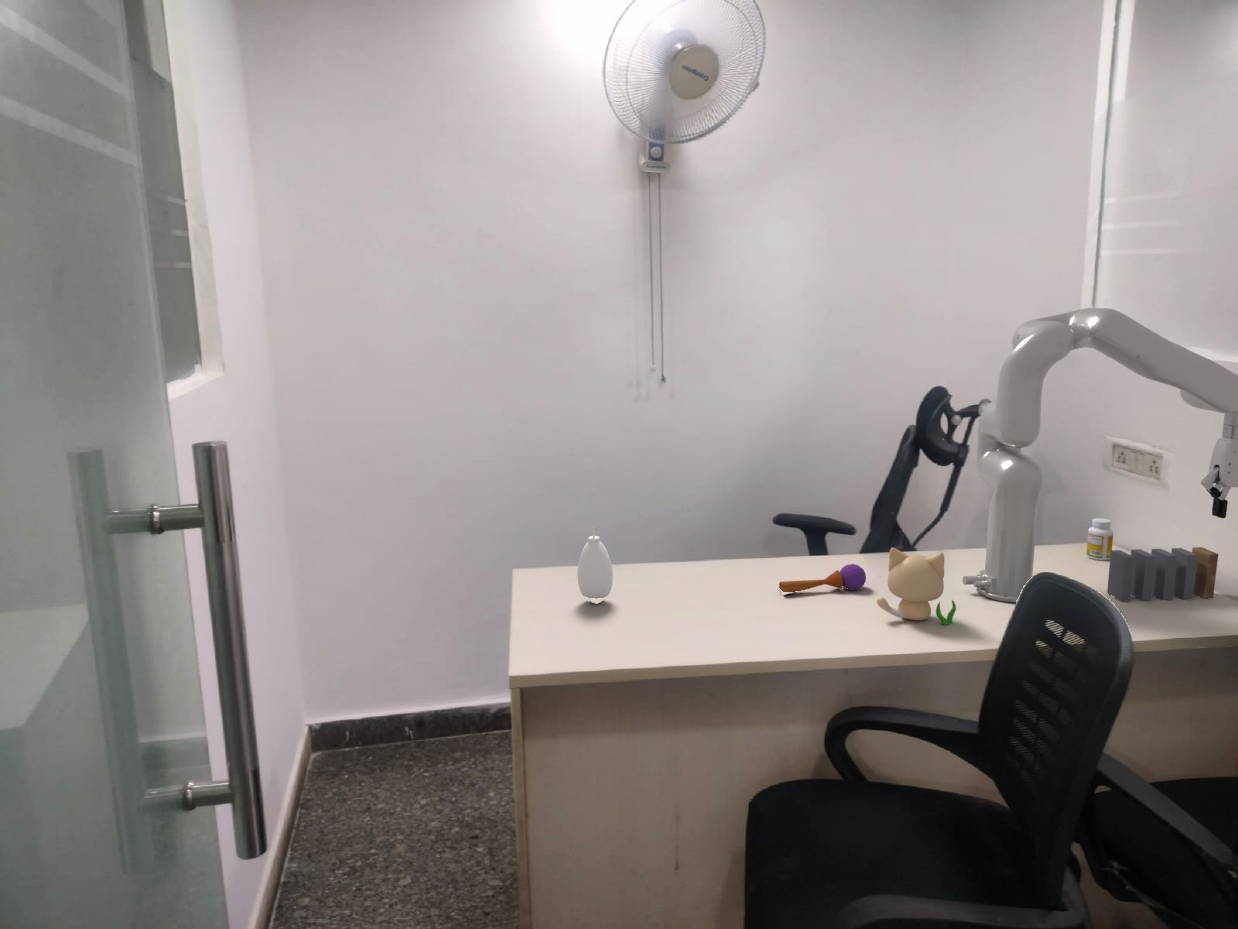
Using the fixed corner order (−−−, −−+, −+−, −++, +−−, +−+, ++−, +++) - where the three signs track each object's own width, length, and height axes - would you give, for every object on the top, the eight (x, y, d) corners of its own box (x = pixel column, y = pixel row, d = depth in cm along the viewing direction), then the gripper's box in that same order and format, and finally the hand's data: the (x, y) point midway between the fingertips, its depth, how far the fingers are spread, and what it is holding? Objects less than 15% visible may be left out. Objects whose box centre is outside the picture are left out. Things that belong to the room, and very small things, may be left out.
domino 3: (1162, 600, 176) (1167, 556, 174) (1147, 592, 181) (1151, 549, 179) (1171, 600, 176) (1176, 555, 174) (1156, 592, 181) (1160, 548, 179)
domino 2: (1141, 601, 176) (1146, 556, 174) (1127, 593, 180) (1131, 549, 178) (1151, 601, 176) (1155, 556, 174) (1136, 592, 180) (1140, 549, 179)
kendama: (775, 574, 188) (857, 560, 191) (779, 599, 188) (860, 586, 191) (784, 577, 182) (868, 563, 185) (788, 604, 182) (872, 589, 185)
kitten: (957, 614, 171) (960, 546, 168) (953, 632, 162) (957, 560, 160) (883, 605, 178) (885, 538, 175) (875, 621, 169) (877, 551, 166)
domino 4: (1183, 599, 176) (1188, 555, 174) (1167, 591, 181) (1171, 548, 179) (1192, 599, 176) (1197, 554, 174) (1176, 591, 181) (1180, 547, 179)
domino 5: (1203, 599, 176) (1209, 554, 174) (1187, 590, 181) (1192, 547, 179) (1213, 598, 176) (1218, 554, 174) (1196, 590, 181) (1201, 547, 179)
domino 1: (1121, 602, 175) (1125, 557, 174) (1106, 594, 180) (1111, 550, 178) (1130, 601, 176) (1134, 557, 174) (1115, 593, 180) (1120, 550, 178)
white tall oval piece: (585, 595, 189) (582, 520, 185) (617, 598, 187) (615, 521, 183) (574, 607, 181) (570, 529, 178) (607, 610, 179) (605, 531, 176)
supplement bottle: (1104, 554, 207) (1108, 517, 205) (1115, 561, 202) (1118, 523, 200) (1082, 554, 208) (1085, 517, 206) (1092, 561, 202) (1095, 523, 200)
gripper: (1270, 428, 175) (1260, 510, 179) (1191, 431, 175) (1182, 513, 178) (1300, 434, 168) (1288, 519, 171) (1217, 437, 168) (1207, 522, 171)
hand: (1234, 515), depth 175 cm, fingers open, 6 cm apart
